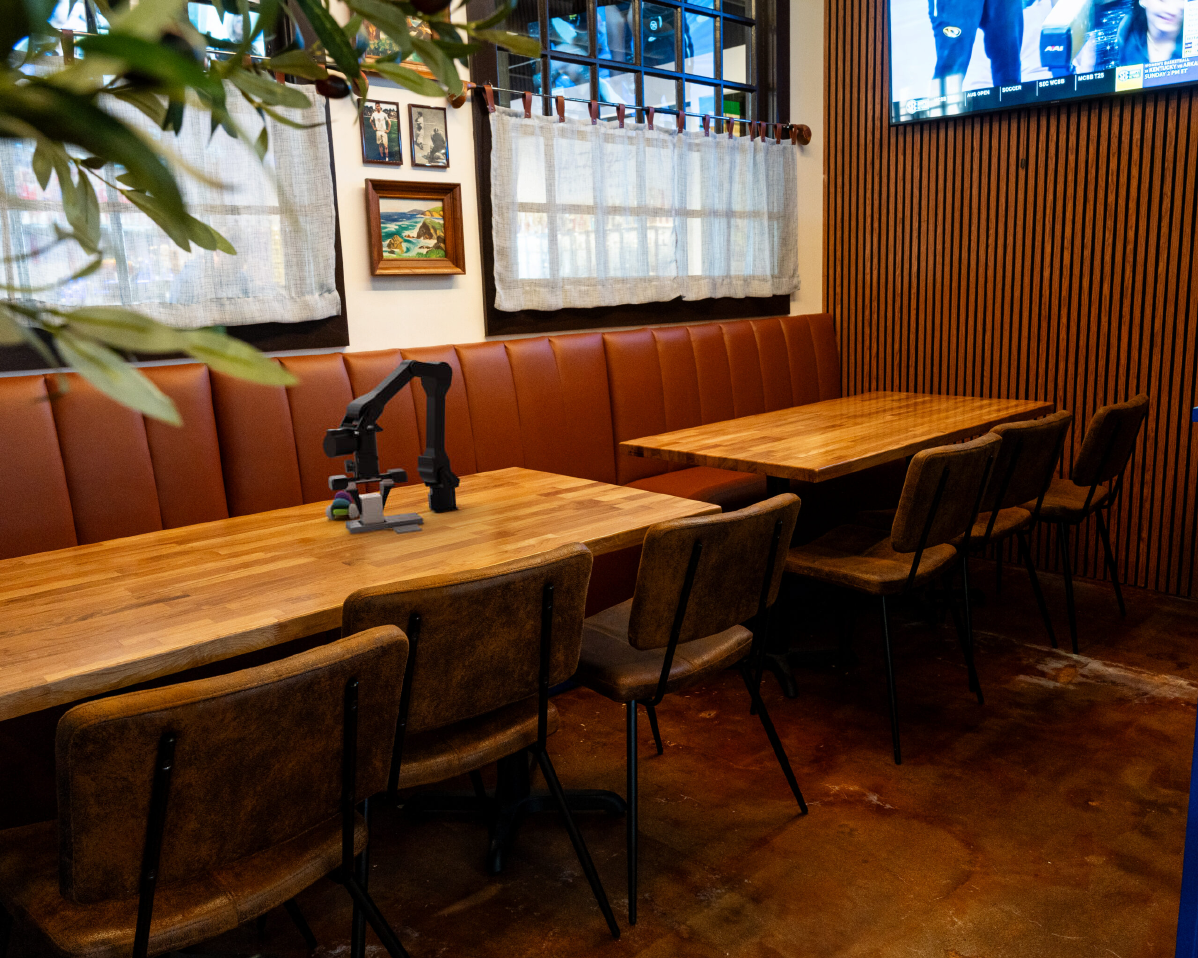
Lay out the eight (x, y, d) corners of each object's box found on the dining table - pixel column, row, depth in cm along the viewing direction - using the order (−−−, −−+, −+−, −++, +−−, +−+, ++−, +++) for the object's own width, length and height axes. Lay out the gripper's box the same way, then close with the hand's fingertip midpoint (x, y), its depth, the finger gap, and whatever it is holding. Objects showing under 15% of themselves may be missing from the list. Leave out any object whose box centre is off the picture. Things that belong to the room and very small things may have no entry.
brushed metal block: (380, 519, 251) (377, 492, 249) (384, 523, 246) (381, 496, 245) (360, 522, 249) (357, 495, 248) (364, 526, 244) (361, 498, 243)
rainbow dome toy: (367, 512, 265) (364, 486, 264) (354, 521, 256) (352, 494, 255) (336, 513, 266) (334, 487, 265) (323, 521, 257) (320, 494, 255)
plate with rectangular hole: (415, 517, 256) (415, 512, 256) (423, 524, 249) (422, 518, 249) (345, 527, 249) (345, 521, 249) (351, 533, 242) (350, 527, 242)
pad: (416, 525, 248) (415, 523, 248) (421, 530, 242) (421, 528, 242) (392, 528, 245) (392, 527, 245) (397, 533, 240) (397, 532, 240)
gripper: (395, 443, 255) (400, 502, 258) (322, 451, 248) (328, 511, 251) (405, 449, 245) (410, 510, 248) (329, 457, 238) (335, 520, 241)
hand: (371, 512), depth 247 cm, fingers closed on brushed metal block, 5 cm apart
